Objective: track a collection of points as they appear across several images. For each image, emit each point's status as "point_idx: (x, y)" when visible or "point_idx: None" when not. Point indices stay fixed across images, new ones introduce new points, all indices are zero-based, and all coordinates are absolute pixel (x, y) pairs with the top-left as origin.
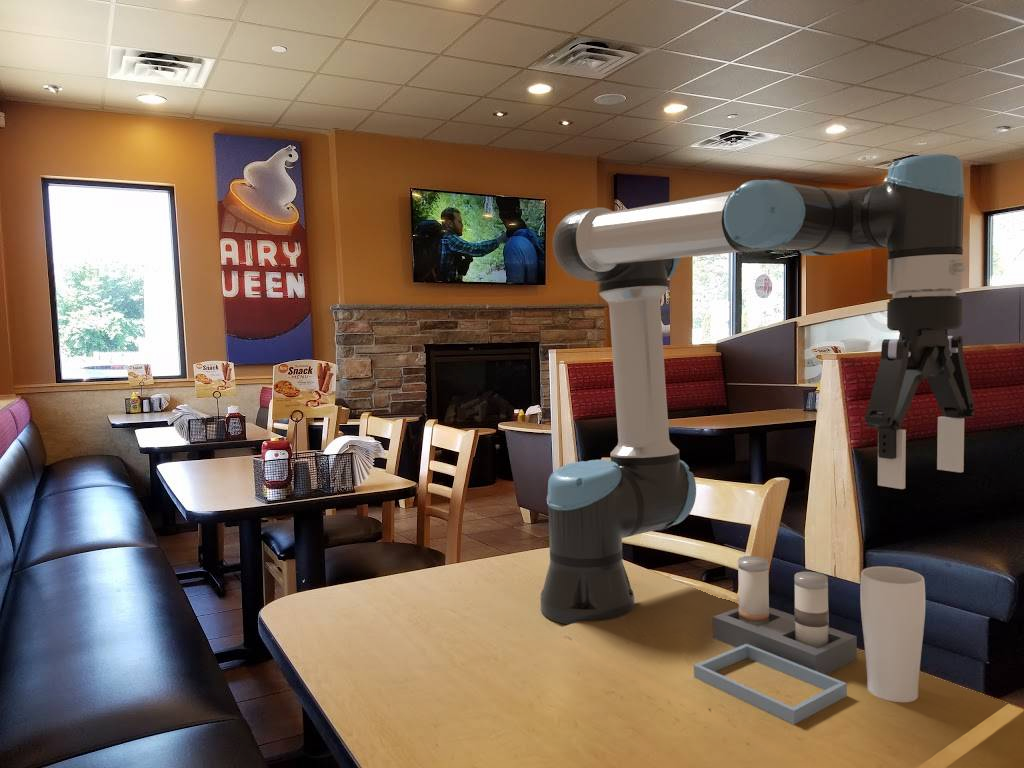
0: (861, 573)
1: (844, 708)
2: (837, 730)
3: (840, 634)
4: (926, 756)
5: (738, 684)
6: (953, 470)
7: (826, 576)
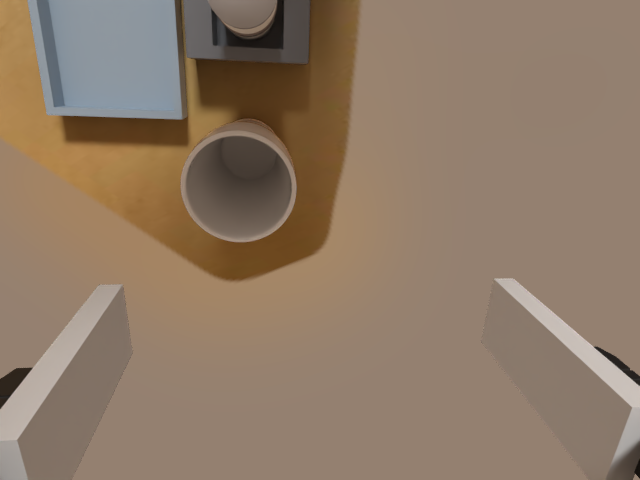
0: (202, 141)
1: (175, 120)
2: (118, 144)
3: (295, 39)
4: (156, 234)
5: (31, 6)
6: (486, 325)
7: (268, 14)
